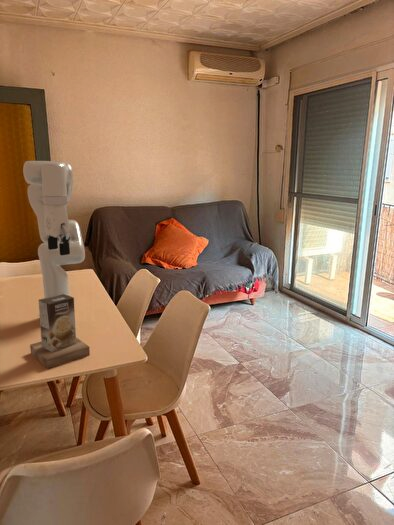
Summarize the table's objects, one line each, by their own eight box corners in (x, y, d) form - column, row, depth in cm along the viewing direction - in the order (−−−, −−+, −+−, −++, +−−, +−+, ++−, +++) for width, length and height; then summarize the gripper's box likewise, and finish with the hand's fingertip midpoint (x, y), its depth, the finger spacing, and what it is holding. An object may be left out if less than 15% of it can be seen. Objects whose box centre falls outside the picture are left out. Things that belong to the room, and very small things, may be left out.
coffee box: (51, 352, 125) (47, 304, 121) (41, 346, 129) (37, 299, 125) (77, 343, 131) (74, 297, 128) (66, 338, 135) (63, 293, 132)
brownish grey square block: (30, 353, 131) (30, 344, 130) (71, 341, 140) (70, 333, 139) (47, 368, 121) (46, 359, 120) (89, 355, 130) (89, 346, 129)
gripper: (34, 199, 134) (38, 248, 138) (54, 204, 121) (58, 258, 126) (56, 198, 138) (59, 245, 143) (77, 203, 126) (80, 255, 130)
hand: (58, 251), depth 134 cm, fingers open, 9 cm apart
